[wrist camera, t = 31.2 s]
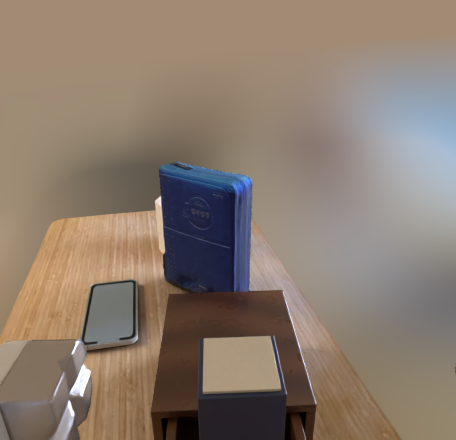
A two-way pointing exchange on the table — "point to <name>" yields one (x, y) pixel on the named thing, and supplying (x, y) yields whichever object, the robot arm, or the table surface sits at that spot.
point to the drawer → (189, 428)
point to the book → (206, 228)
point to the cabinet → (224, 327)
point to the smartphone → (111, 315)
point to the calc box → (240, 389)
